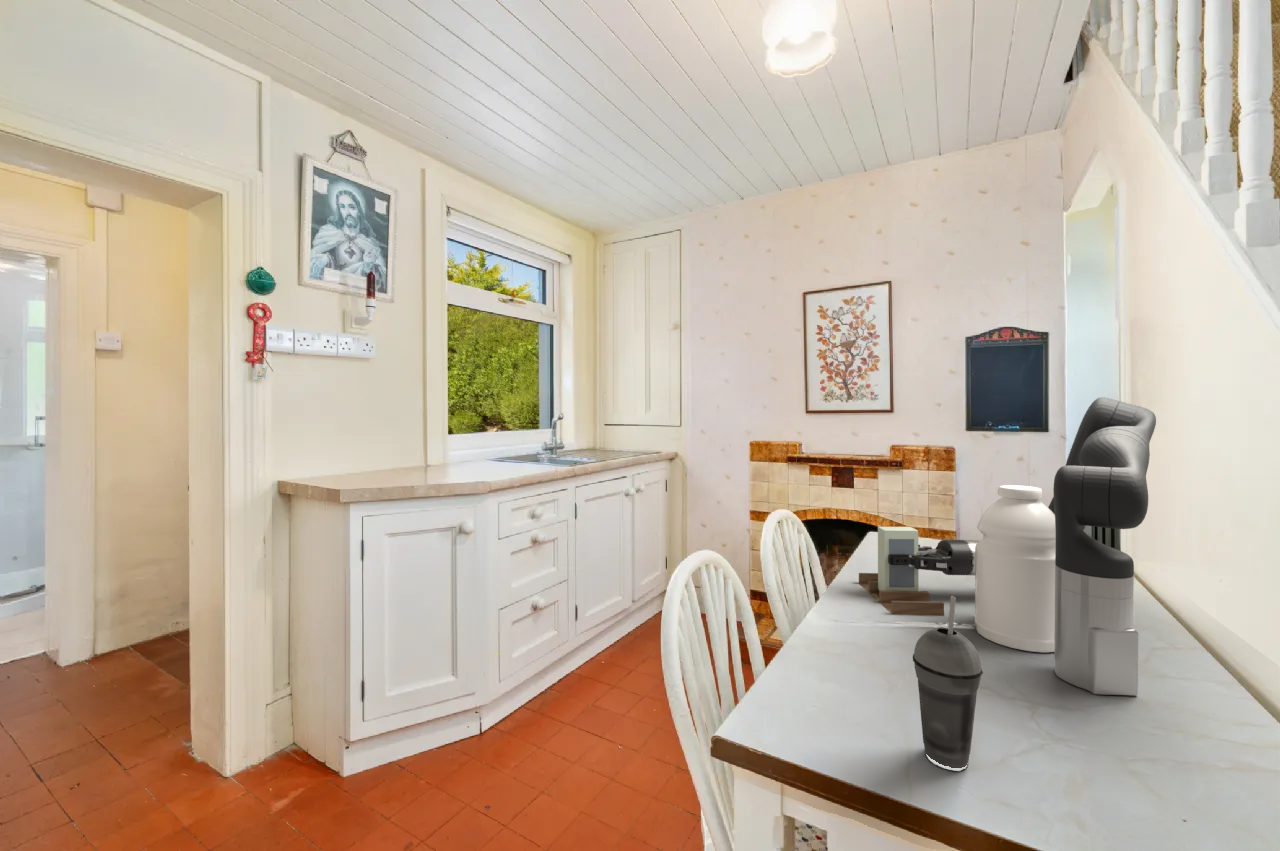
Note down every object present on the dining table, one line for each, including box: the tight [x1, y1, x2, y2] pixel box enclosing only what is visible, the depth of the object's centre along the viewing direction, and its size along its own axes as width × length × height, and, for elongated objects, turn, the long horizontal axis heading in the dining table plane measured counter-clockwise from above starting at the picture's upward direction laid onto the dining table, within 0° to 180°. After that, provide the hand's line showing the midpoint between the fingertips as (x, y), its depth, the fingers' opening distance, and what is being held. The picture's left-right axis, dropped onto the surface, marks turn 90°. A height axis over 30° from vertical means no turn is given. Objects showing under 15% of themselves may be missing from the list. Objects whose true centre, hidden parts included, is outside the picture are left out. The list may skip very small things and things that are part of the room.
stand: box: [858, 572, 945, 617], centre depth 116 cm, size 20×10×4 cm, turn 176°
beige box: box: [877, 526, 919, 591], centre depth 116 cm, size 4×7×14 cm, turn 86°
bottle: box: [973, 484, 1056, 653], centre depth 98 cm, size 14×14×28 cm
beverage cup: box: [912, 595, 984, 768], centre depth 63 cm, size 7×7×20 cm
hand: (885, 556), depth 116 cm, fingers closed on beige box, 4 cm apart
